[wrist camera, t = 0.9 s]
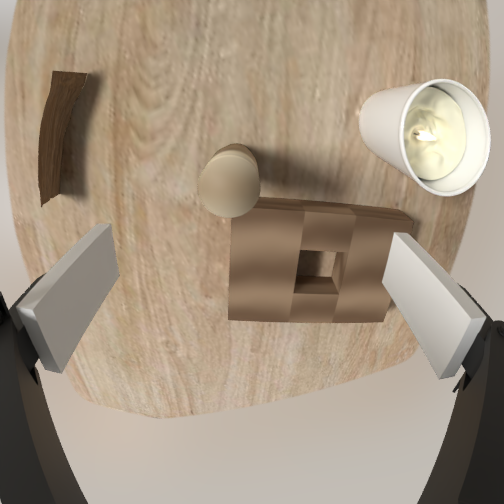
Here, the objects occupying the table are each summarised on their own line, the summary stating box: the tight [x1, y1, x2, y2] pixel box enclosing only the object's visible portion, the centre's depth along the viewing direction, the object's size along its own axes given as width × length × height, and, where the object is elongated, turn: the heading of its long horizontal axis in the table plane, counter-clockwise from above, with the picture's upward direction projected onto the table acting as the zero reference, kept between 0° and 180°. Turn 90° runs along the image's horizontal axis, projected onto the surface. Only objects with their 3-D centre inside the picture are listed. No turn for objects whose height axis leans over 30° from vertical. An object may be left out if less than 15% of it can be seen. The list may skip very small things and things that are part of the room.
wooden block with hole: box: [228, 197, 414, 323], centre depth 35 cm, size 14×20×4 cm
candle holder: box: [359, 79, 491, 196], centre depth 25 cm, size 10×10×12 cm
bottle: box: [198, 144, 260, 218], centre depth 27 cm, size 4×4×12 cm
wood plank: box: [38, 71, 87, 207], centre depth 28 cm, size 15×2×5 cm, turn 163°
